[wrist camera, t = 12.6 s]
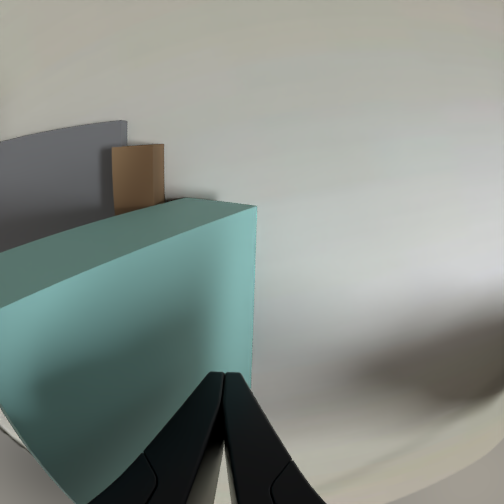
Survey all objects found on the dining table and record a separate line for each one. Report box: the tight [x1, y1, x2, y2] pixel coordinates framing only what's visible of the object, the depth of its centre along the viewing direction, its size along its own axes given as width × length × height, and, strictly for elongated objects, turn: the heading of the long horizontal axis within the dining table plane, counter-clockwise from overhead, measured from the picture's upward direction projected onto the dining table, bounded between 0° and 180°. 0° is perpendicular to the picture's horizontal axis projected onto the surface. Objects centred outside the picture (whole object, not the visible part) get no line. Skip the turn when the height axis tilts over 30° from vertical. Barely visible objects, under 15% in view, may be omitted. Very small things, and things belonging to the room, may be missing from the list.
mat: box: [0, 120, 127, 253], centre depth 12 cm, size 13×14×1 cm
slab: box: [0, 197, 257, 504], centre depth 9 cm, size 3×8×9 cm, turn 179°
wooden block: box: [112, 144, 165, 216], centre depth 12 cm, size 2×12×2 cm, turn 178°
